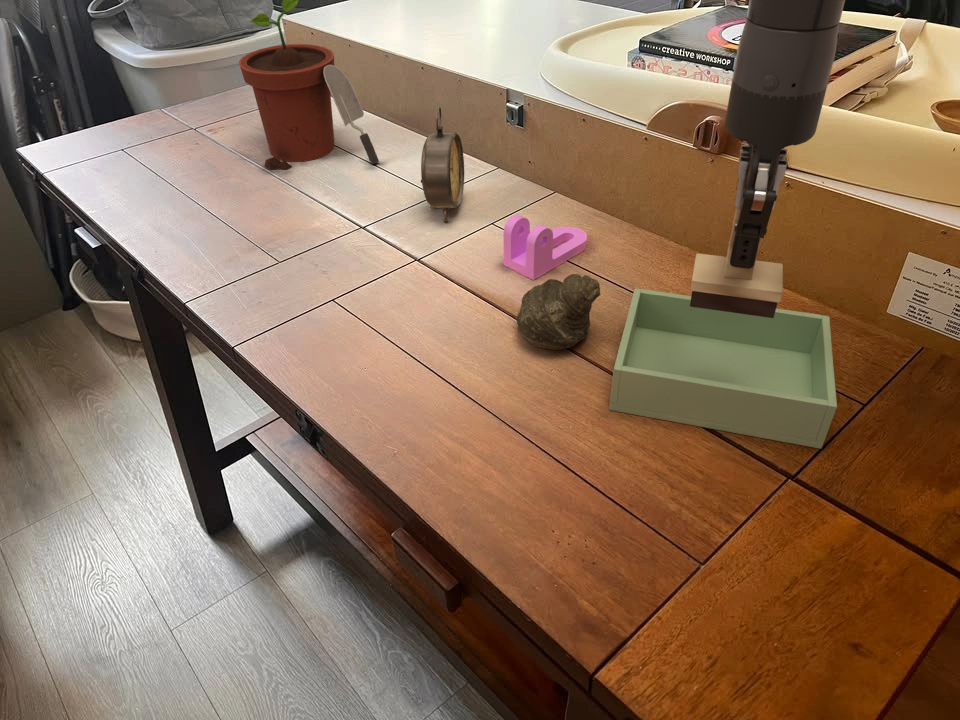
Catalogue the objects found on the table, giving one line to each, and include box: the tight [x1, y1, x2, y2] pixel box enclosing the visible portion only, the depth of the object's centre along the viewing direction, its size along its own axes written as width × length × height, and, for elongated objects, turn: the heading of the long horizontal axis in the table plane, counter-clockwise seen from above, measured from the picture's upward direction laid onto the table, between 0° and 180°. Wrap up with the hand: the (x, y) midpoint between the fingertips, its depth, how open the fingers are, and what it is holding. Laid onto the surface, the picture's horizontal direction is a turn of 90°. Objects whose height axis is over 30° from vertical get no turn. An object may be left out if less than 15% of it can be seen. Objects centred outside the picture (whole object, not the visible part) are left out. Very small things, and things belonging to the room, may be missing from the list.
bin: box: [608, 287, 838, 450], centre depth 83 cm, size 22×16×6 cm
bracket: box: [503, 213, 588, 281], centre depth 105 cm, size 13×6×7 cm, turn 135°
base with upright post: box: [689, 207, 784, 318], centre depth 74 cm, size 8×5×10 cm, turn 73°
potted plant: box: [238, 0, 380, 171], centre depth 128 cm, size 18×22×25 cm
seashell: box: [516, 273, 601, 351], centre depth 90 cm, size 11×12×10 cm
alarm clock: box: [420, 105, 465, 224], centre depth 113 cm, size 11×5×16 cm, turn 171°
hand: (741, 256), depth 74 cm, fingers closed on base with upright post, 2 cm apart
